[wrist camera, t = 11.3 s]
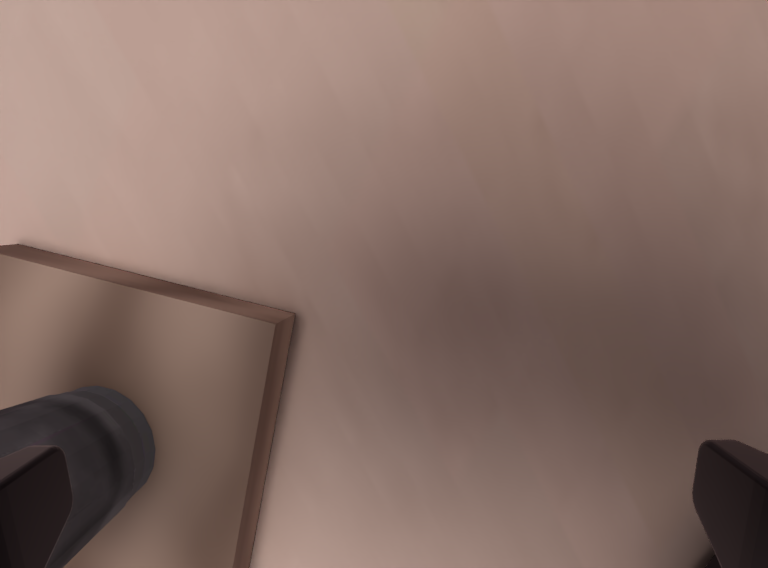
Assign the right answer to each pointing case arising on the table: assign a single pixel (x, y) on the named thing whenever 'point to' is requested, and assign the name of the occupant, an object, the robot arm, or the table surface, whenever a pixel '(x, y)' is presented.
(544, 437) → the table surface
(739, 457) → the robot arm
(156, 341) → the walnut plinth
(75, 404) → the beverage cup
